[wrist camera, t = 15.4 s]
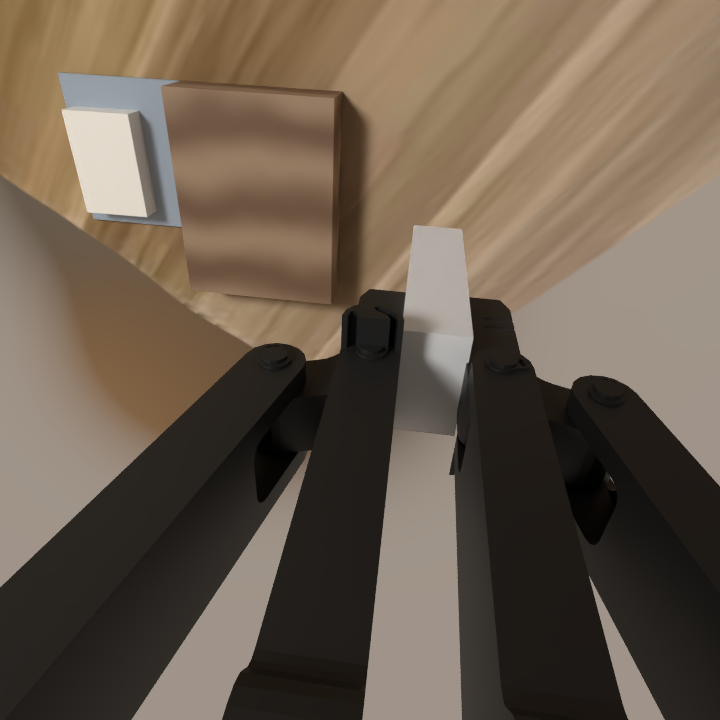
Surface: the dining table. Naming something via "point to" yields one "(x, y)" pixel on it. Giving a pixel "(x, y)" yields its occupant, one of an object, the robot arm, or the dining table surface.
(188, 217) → the brown wooden slab
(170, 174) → the mat
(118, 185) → the white rectangular block
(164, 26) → the dining table surface
